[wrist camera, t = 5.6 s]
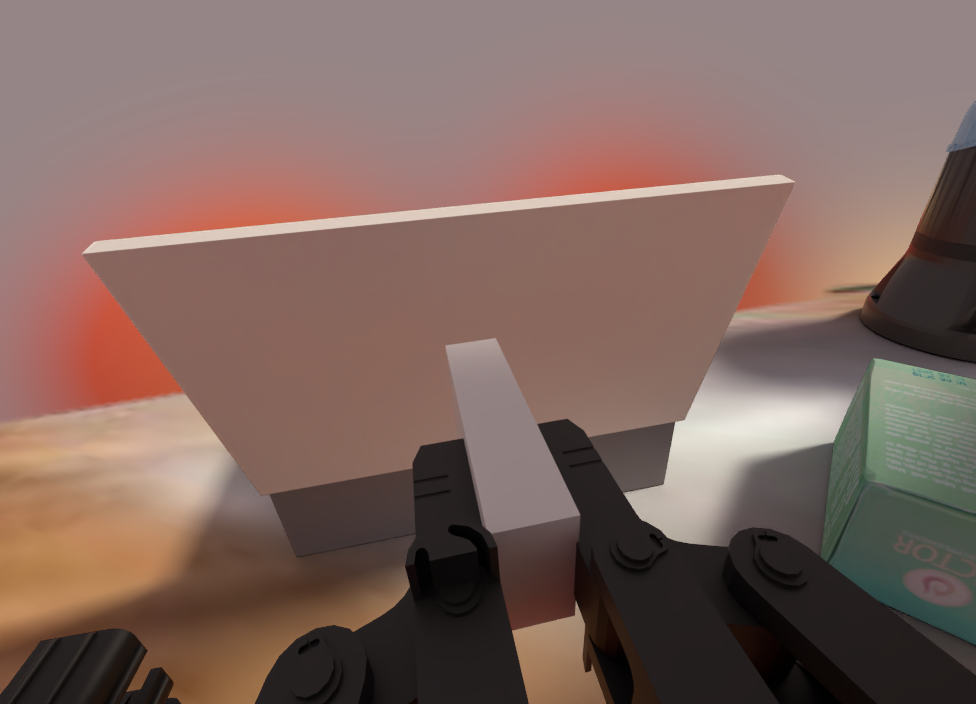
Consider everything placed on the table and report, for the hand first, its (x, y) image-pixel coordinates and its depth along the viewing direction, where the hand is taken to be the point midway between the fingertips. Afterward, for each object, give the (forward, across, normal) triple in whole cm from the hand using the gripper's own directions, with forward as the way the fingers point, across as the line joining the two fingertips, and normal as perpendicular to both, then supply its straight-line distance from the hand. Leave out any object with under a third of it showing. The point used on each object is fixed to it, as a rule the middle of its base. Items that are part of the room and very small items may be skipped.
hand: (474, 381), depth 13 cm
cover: (+6, +1, -2) cm, 7 cm away
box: (+1, +24, -16) cm, 29 cm away
